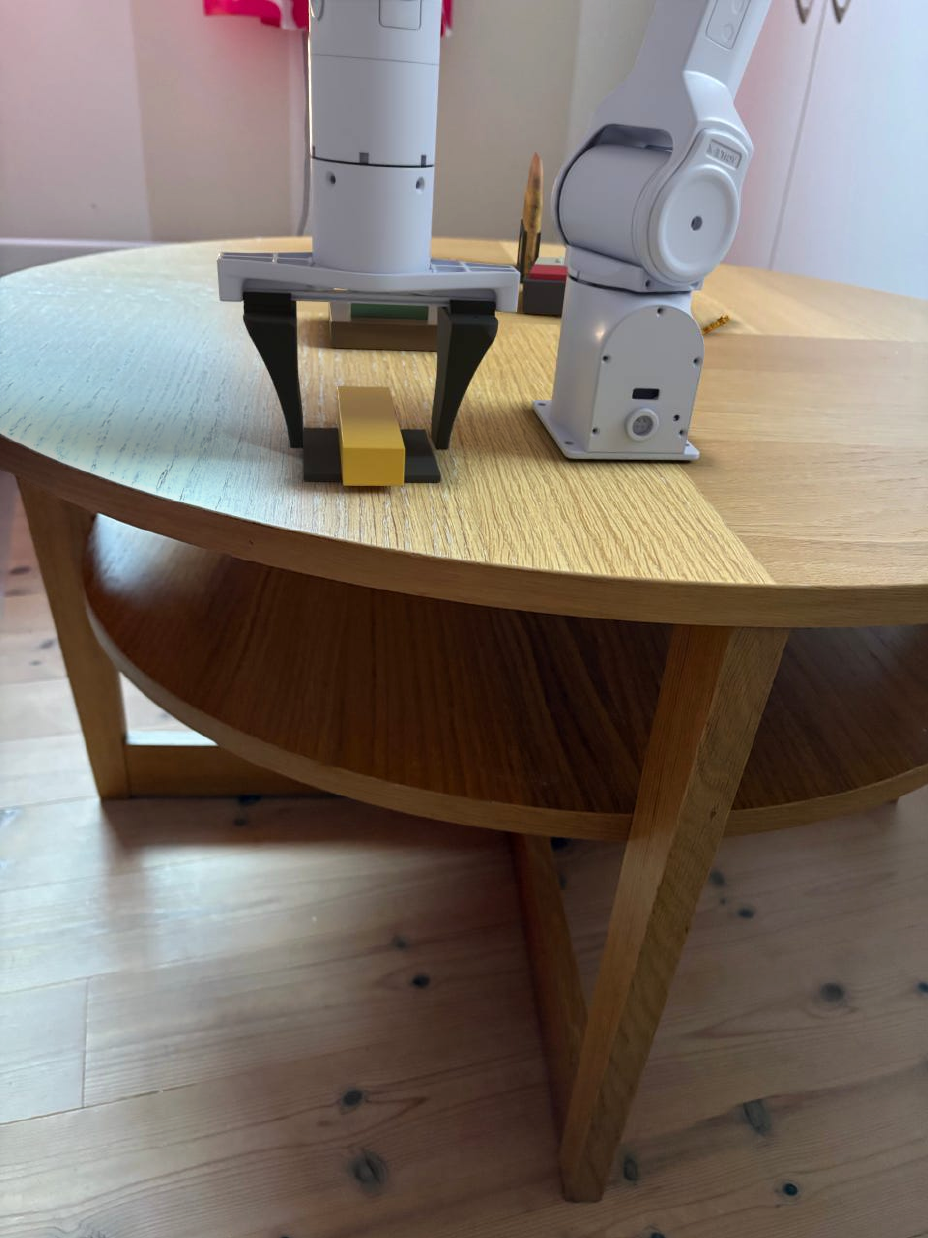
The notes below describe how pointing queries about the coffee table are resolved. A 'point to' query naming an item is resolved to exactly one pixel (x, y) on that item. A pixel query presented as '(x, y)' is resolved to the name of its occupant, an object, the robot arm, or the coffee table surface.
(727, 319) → the keychain
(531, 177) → the ammunition clip
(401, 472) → the bar
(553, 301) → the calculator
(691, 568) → the coffee table surface
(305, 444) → the mat
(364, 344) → the stepped green brown block
